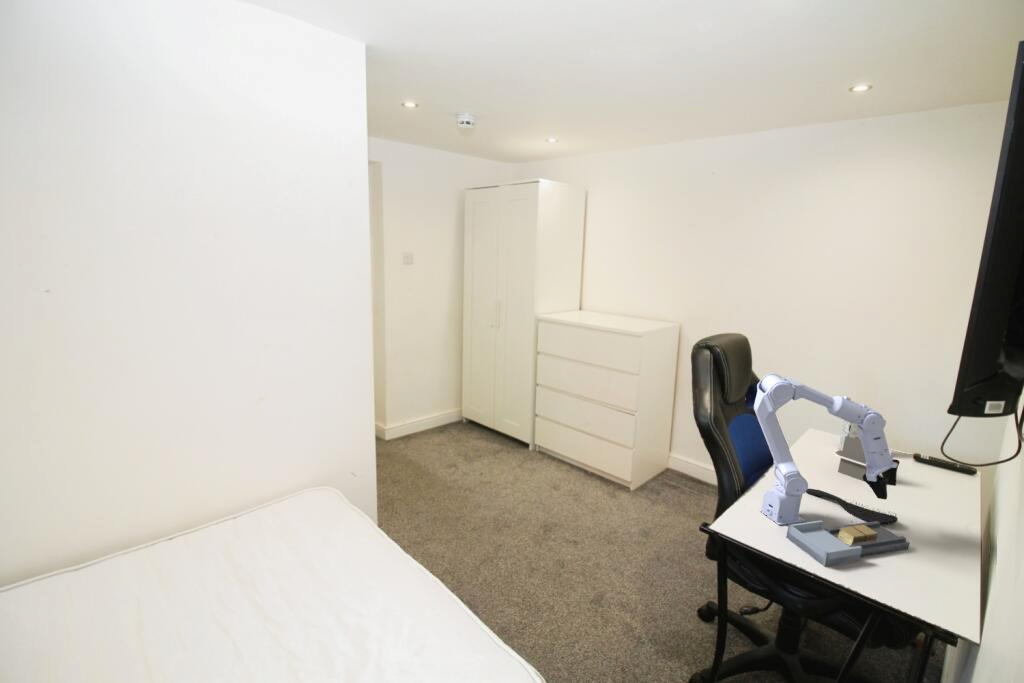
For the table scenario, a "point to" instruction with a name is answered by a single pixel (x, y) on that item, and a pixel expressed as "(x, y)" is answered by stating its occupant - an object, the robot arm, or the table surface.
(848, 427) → the candy bar box
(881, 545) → the slotted bar
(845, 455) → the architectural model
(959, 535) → the table surface
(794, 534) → the tray
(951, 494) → the table surface
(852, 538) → the brass chip
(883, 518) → the hairbrush
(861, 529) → the cream square block
